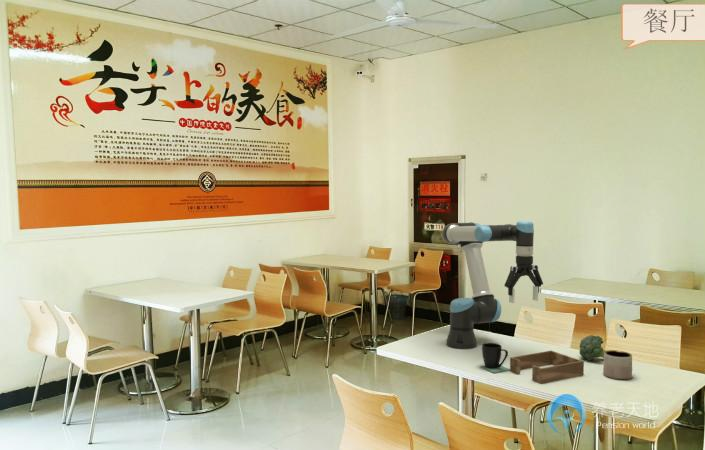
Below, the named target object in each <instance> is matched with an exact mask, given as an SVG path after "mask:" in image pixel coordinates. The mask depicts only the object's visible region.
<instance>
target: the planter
mask: <svg viewBox="0 0 705 450" xmlns="http://www.w3.org/2000/svg"><path fill="white" fill-rule="evenodd" d="M602 369H603V371H602V372H603V375H604V376H605V377H607V378H609V379H613V380H617V379H618V380H619V381H620V380H621V381H625V380H626V381H627V380H631V378H632V377H633V355H632V353H629V352H627V351H622V350H614V349H612V350H607V351H605V352H604V358H603V368H602Z"/></svg>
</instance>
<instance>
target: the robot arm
mask: <svg viewBox="0 0 705 450" xmlns="http://www.w3.org/2000/svg"><path fill="white" fill-rule="evenodd" d="M534 232H535V230H534V223H533V221H525V220H524V221H523V220H522V221H521V220H520V221H517V222H516V225H515V224H512V223H511V224H510V223H509V224H508V223H506V224H495V225H494V224H493V225H492V224H489V225H488V224H487V225H486V224H480V223H479V222H472V221H471V222H452V223H448V224H446V225H445V226H444V227H443V229H442V232H441V236H442V239H443V240H444V242H446V243H447V244H450V245H454V246H455V245H458V246H460V250H461V251H463V252H464V255H465V260H466V265H467V270H468V275H469V280H470V285H471V289H472V294H473V295H471V296H472V297H458V298H455V299H453V300H451V302H450V305H449V306H450V307H449V331H448V334H447V338H446V340H445V342H446V345H447V346H448V347H450V348H453V349H454V348H455V349H461V350H464V349H465V350H467V349H473V348H477V346H478V343H477V338H476V335H475V332H474V331H475V330H474V324H487V323H488V324H490V323H494V322H497V321H498V320H499V319H500V316H501V314H502V304H501V302H500V301H499V300H498V299H497V298H495V295H494V293H492V292H491V290H490V286H489V282H488V277H487V272H486V268H485V262H484V258H483V254H482V246H483V245H484V243H485V242H505V241H506V242H507V241H509V242H511V241H513V242H515V264H516V266H512V265H511V266H510V271H509V273H508V275H507V279H506V281H505V283H504V287H505V288H507V290H508V291H507V294H508V299H509V300H508V302H509V303H511V304H515V294H516V293H515V292H516V291H515V288H514V287H515V286H516V284H517V283H518V282H519V280H520V279H521V278H522V277H525V276H528V278H529V279H530V281H531V282H532V284H533V285H532V300H533V301H536V302H538V301H539V293H540V287H542V285H544V282H543V279H542V277H541V274H540V271H539V266H538V265H536V264H534V256H533V255H534V235H535V234H534Z"/></svg>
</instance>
